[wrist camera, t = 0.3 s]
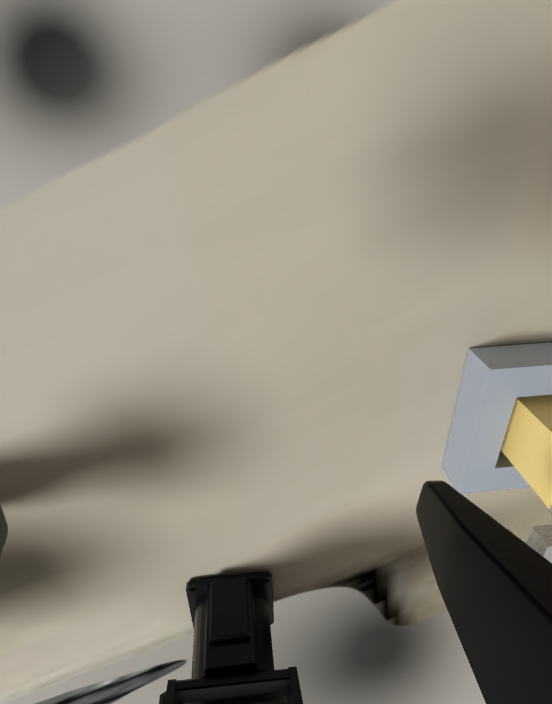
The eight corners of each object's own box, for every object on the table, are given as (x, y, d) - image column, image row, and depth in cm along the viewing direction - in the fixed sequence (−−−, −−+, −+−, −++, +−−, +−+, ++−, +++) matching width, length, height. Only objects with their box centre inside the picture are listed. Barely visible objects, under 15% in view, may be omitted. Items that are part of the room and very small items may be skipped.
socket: (568, 455, 31) (594, 480, 29) (441, 467, 30) (458, 494, 28) (617, 337, 26) (652, 357, 24) (468, 348, 25) (490, 369, 23)
